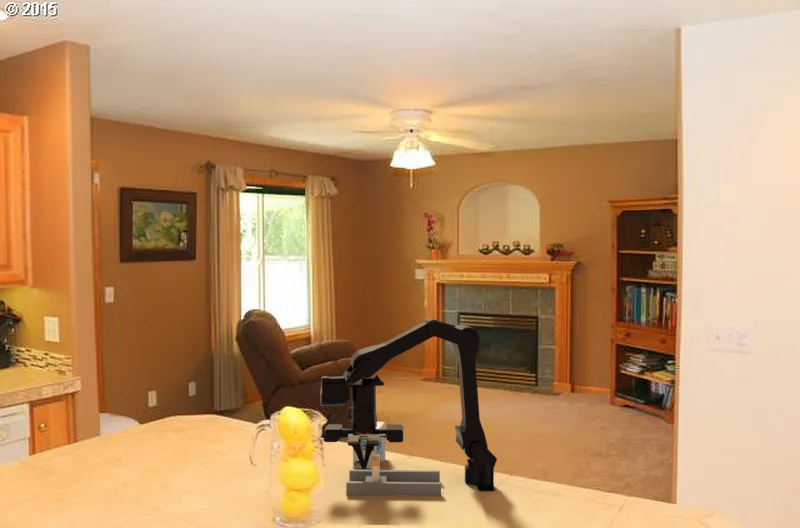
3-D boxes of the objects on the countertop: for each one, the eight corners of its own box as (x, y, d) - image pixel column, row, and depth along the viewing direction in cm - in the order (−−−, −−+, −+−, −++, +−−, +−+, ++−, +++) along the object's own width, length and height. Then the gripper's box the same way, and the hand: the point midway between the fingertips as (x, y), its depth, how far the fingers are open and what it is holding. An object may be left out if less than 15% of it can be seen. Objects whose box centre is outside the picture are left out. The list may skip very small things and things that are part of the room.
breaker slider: (386, 483, 164) (386, 453, 164) (385, 492, 158) (386, 461, 158) (366, 483, 164) (366, 453, 164) (364, 492, 158) (364, 461, 158)
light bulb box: (377, 473, 174) (377, 432, 174) (351, 471, 176) (352, 430, 175) (386, 460, 185) (386, 421, 184) (362, 458, 186) (362, 419, 186)
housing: (442, 481, 169) (442, 465, 169) (446, 507, 153) (446, 490, 153) (346, 480, 169) (347, 464, 169) (340, 505, 153) (340, 488, 153)
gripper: (403, 395, 168) (403, 457, 169) (328, 395, 169) (329, 457, 169) (403, 407, 157) (403, 473, 158) (322, 407, 157) (323, 473, 158)
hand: (364, 468), depth 161 cm, fingers closed
